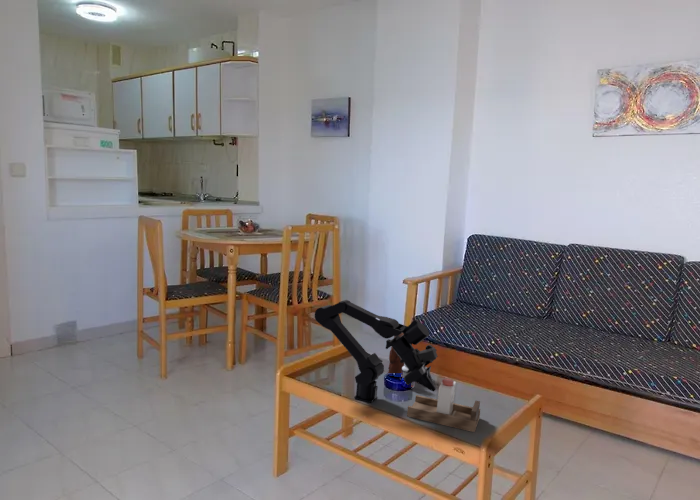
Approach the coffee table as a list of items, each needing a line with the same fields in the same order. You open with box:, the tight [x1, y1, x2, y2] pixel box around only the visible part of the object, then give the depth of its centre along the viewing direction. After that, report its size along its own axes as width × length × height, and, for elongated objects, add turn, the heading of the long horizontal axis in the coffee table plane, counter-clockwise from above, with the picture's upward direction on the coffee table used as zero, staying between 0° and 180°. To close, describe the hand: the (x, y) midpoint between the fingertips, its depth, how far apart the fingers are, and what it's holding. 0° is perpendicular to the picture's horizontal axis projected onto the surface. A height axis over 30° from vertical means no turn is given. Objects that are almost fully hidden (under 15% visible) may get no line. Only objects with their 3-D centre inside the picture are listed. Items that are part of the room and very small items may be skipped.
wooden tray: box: [406, 394, 481, 433], centre depth 169 cm, size 22×12×6 cm, turn 69°
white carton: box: [437, 378, 457, 415], centre depth 169 cm, size 4×8×11 cm, turn 159°
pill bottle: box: [400, 364, 416, 389], centre depth 195 cm, size 5×5×10 cm
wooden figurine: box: [387, 333, 413, 374], centre depth 207 cm, size 12×6×18 cm, turn 151°
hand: (434, 390), depth 170 cm, fingers closed
